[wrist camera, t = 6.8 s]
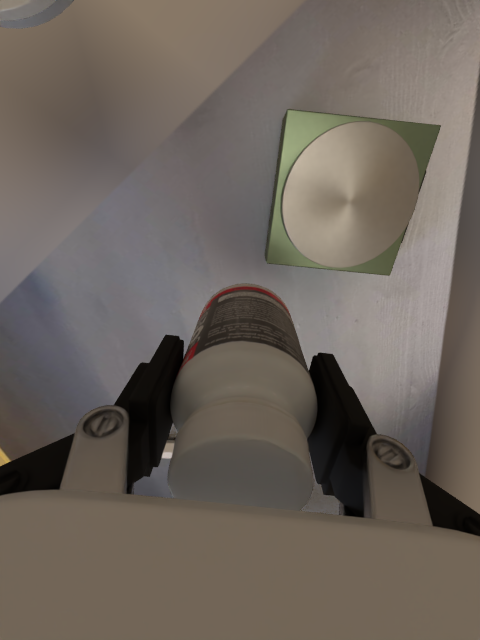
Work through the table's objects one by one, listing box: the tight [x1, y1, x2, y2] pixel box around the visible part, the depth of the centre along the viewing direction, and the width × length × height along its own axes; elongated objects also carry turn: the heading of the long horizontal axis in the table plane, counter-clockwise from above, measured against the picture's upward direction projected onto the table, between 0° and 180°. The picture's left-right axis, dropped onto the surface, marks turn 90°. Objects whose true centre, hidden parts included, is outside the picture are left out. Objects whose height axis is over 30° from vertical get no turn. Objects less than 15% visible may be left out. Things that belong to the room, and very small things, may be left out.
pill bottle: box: [168, 284, 317, 511], centre depth 12 cm, size 5×5×10 cm
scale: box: [265, 109, 441, 276], centre depth 25 cm, size 12×12×3 cm
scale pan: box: [281, 121, 419, 268], centre depth 23 cm, size 11×11×1 cm
